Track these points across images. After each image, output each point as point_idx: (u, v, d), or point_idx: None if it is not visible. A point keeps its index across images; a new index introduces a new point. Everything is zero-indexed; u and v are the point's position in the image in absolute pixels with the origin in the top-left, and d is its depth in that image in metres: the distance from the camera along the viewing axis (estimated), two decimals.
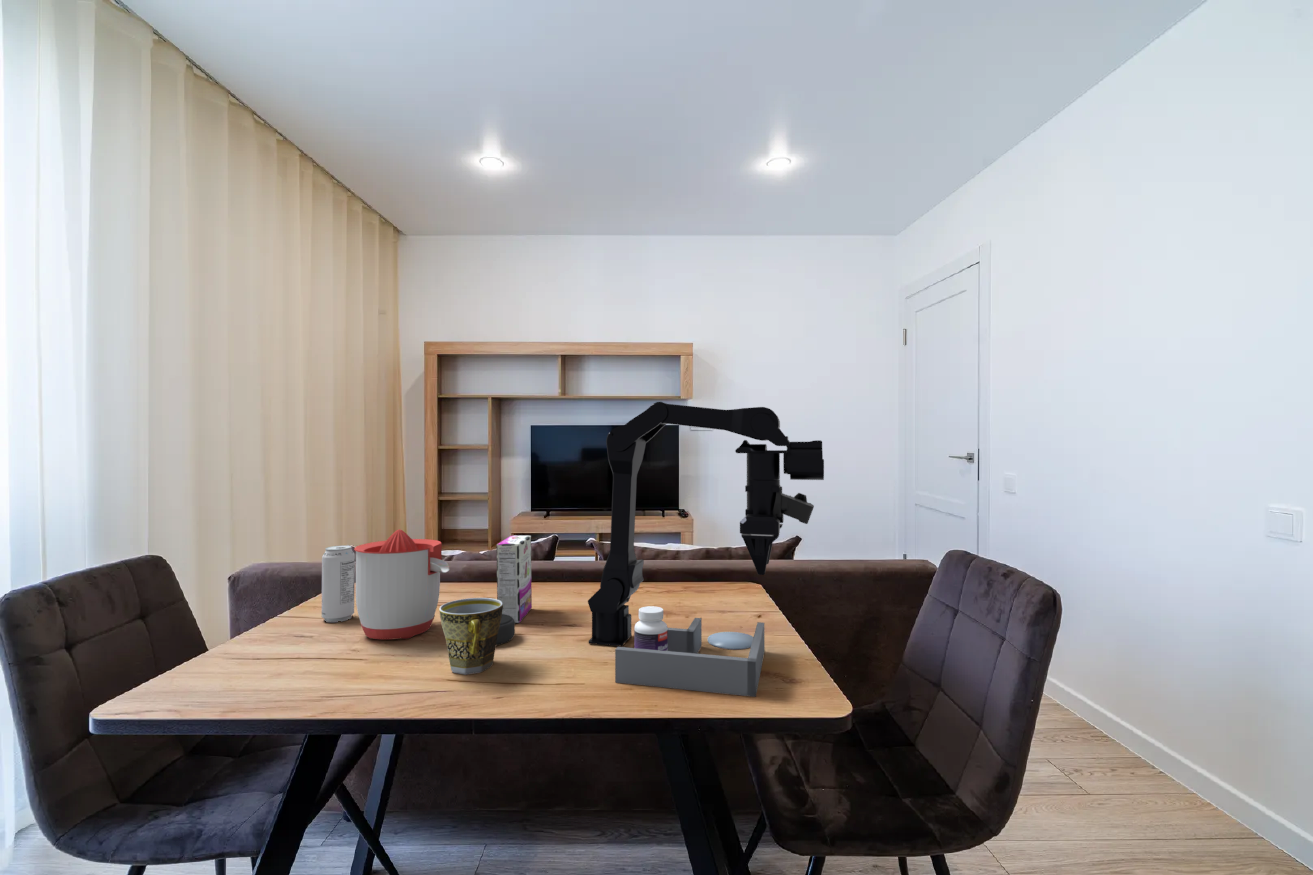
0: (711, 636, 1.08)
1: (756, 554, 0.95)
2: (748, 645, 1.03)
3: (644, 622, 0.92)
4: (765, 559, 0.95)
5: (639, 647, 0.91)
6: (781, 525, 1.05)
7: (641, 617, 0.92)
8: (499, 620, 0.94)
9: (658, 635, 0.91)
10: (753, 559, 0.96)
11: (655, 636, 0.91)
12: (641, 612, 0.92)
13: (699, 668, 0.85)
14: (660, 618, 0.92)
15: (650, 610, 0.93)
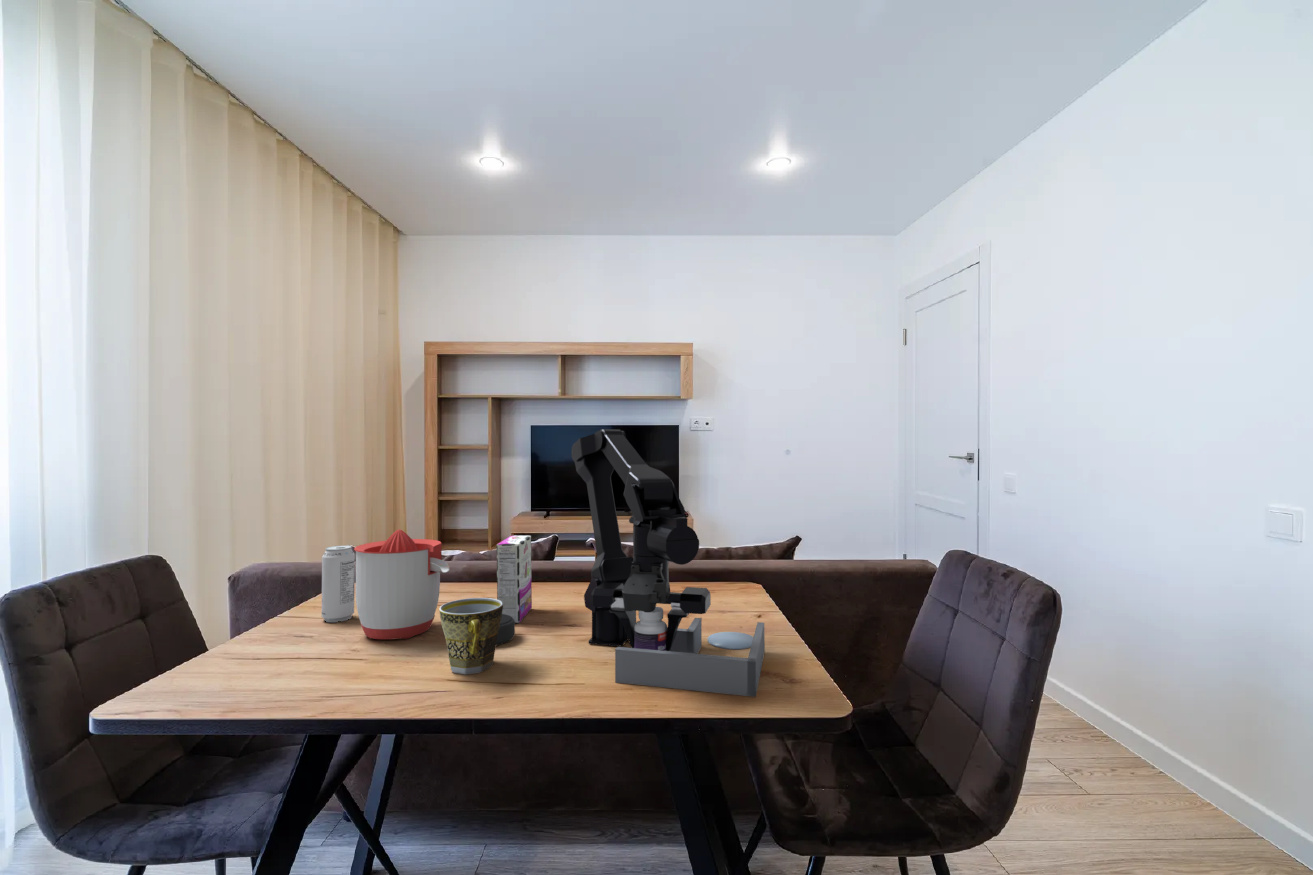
0: (711, 636, 1.08)
1: None
2: (748, 645, 1.03)
3: (644, 622, 0.92)
4: None
5: (639, 647, 0.91)
6: (670, 614, 0.89)
7: (641, 617, 0.92)
8: (499, 620, 0.94)
9: (658, 635, 0.91)
10: None
11: (655, 635, 0.91)
12: (641, 612, 0.92)
13: (699, 668, 0.85)
14: (660, 618, 0.92)
15: None
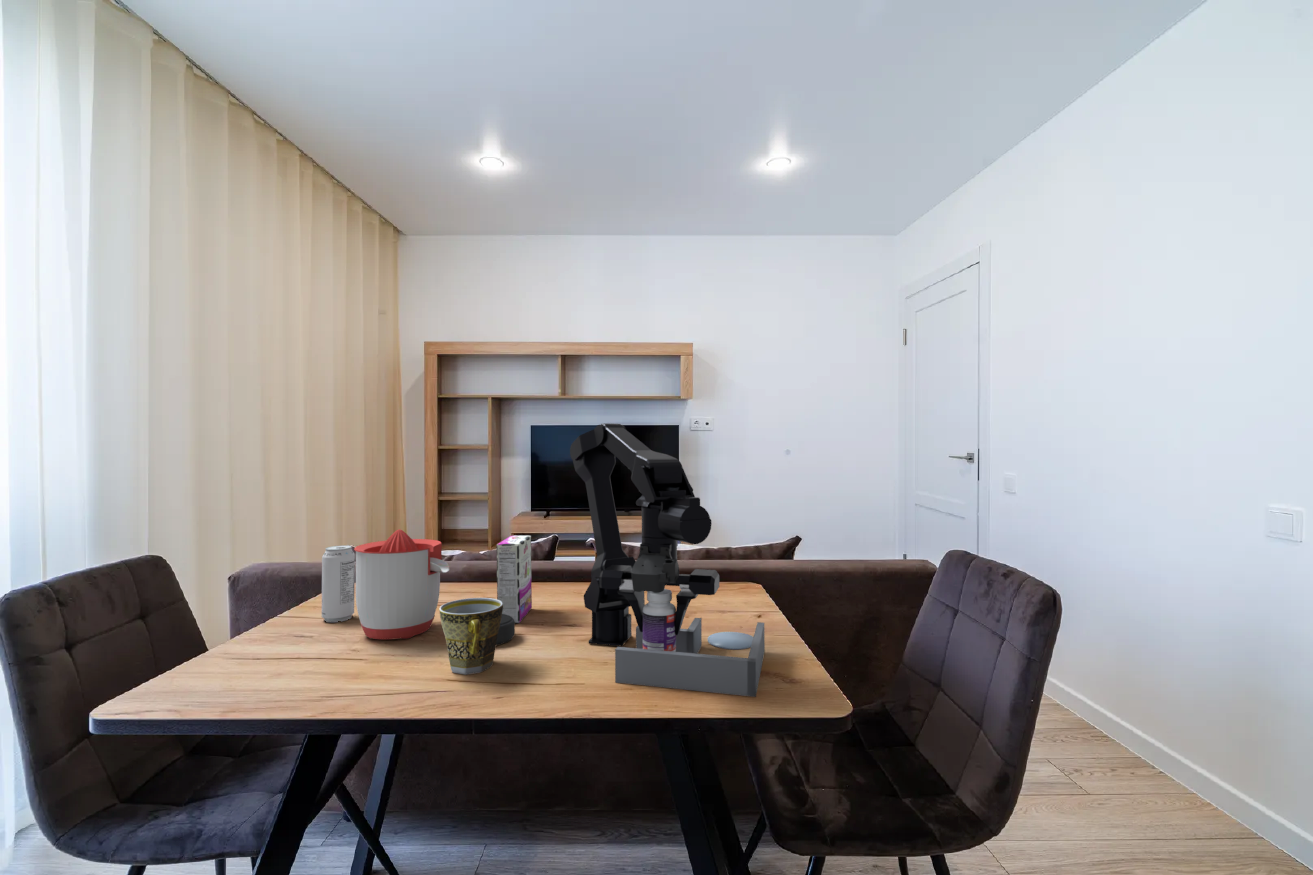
0: (711, 636, 1.08)
1: None
2: (748, 645, 1.03)
3: (653, 603, 0.91)
4: (635, 615, 0.93)
5: (648, 629, 0.91)
6: (679, 595, 0.89)
7: (650, 599, 0.92)
8: (499, 620, 0.94)
9: (667, 616, 0.90)
10: None
11: (664, 617, 0.90)
12: (650, 594, 0.92)
13: (699, 668, 0.85)
14: (669, 600, 0.92)
15: None
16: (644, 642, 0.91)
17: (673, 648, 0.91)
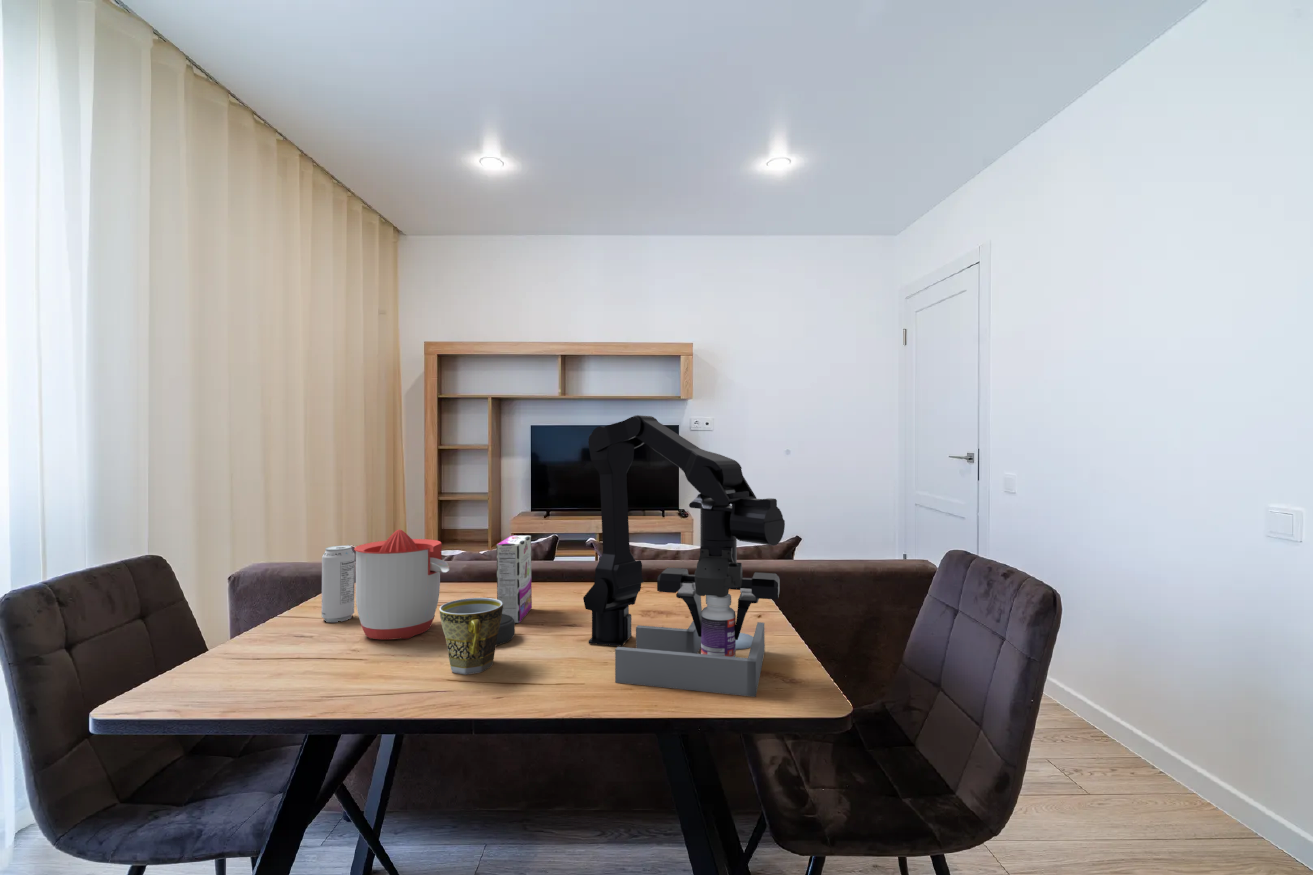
0: None
1: None
2: (748, 645, 1.03)
3: (713, 608, 0.89)
4: (693, 619, 0.91)
5: (708, 633, 0.89)
6: (741, 599, 0.87)
7: (709, 603, 0.90)
8: (499, 620, 0.94)
9: (728, 621, 0.88)
10: None
11: (724, 622, 0.88)
12: (709, 597, 0.90)
13: (699, 668, 0.85)
14: (729, 604, 0.90)
15: None
16: (703, 647, 0.89)
17: (733, 653, 0.89)
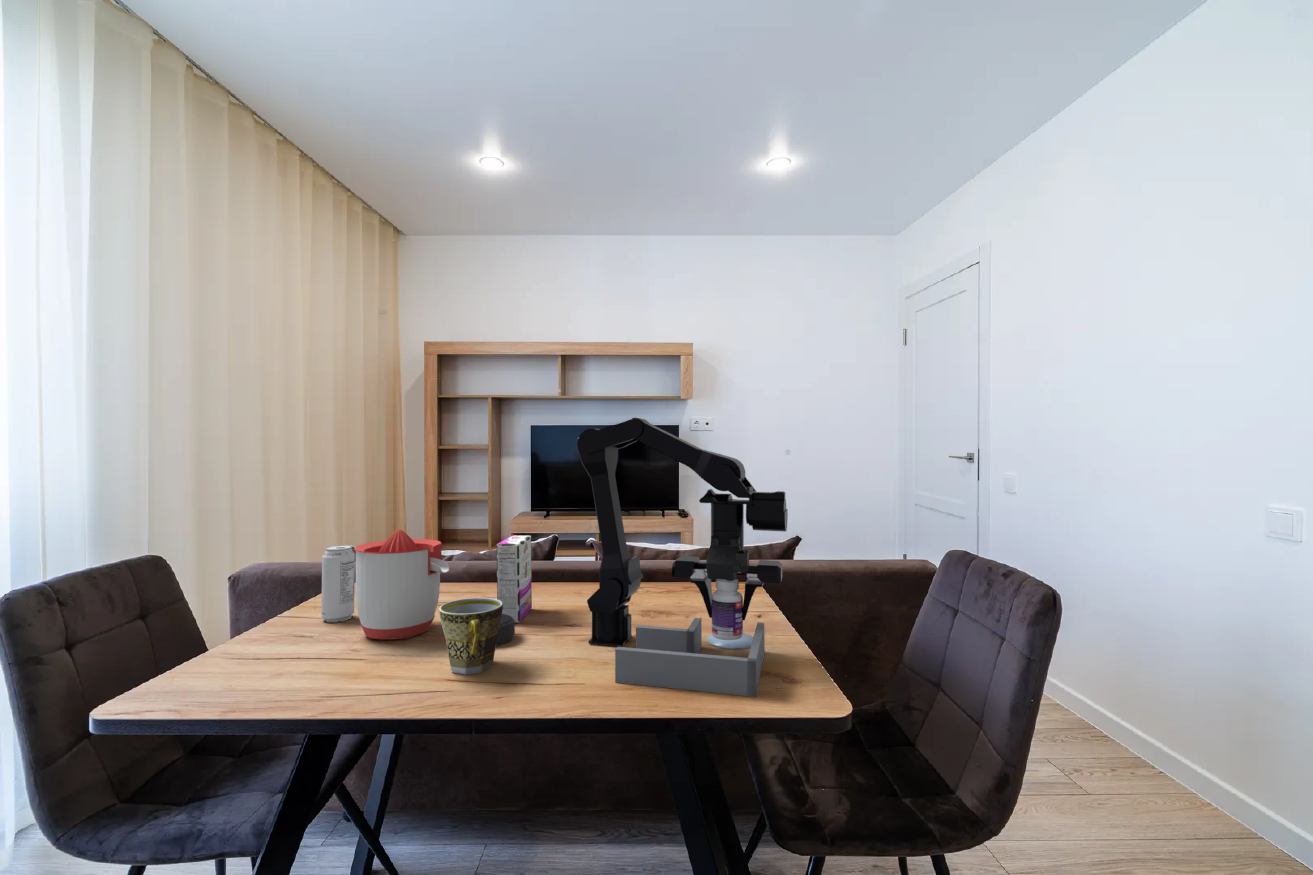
0: (711, 636, 1.08)
1: None
2: (748, 645, 1.03)
3: (722, 591, 0.99)
4: None
5: (718, 614, 0.99)
6: (748, 583, 0.97)
7: (719, 587, 1.00)
8: (499, 620, 0.94)
9: (736, 603, 0.99)
10: None
11: (733, 604, 0.98)
12: (719, 582, 1.00)
13: (699, 668, 0.85)
14: (736, 588, 1.00)
15: (727, 581, 1.00)
16: (714, 627, 1.00)
17: (741, 632, 0.99)
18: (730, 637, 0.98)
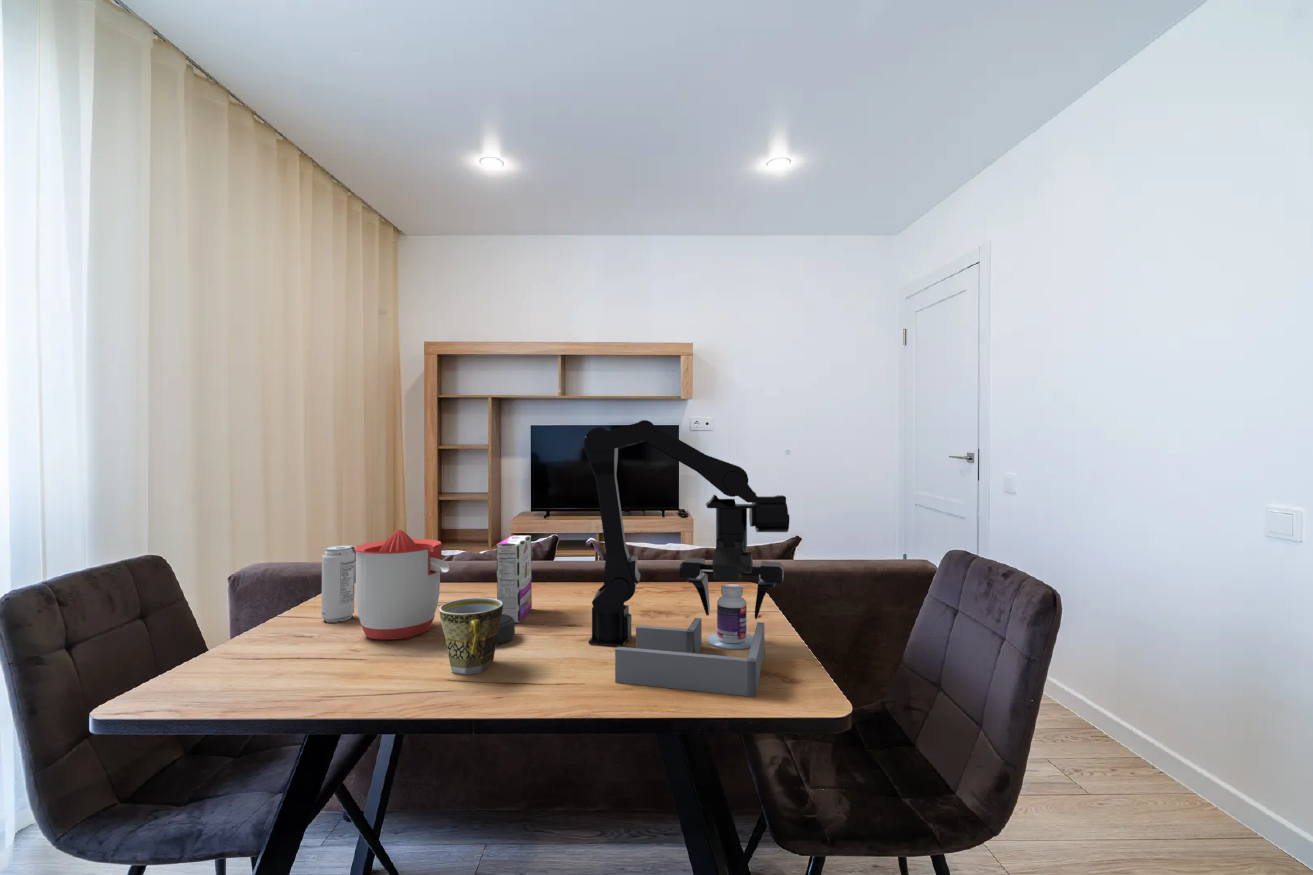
0: (711, 636, 1.08)
1: None
2: (748, 645, 1.03)
3: (727, 597, 1.05)
4: (701, 600, 1.08)
5: (723, 619, 1.05)
6: (761, 584, 1.03)
7: (724, 593, 1.06)
8: (499, 620, 0.94)
9: (740, 608, 1.04)
10: None
11: (737, 609, 1.04)
12: (724, 589, 1.06)
13: (699, 668, 0.85)
14: (741, 594, 1.06)
15: (732, 587, 1.06)
16: (719, 631, 1.05)
17: (744, 636, 1.05)
18: (735, 640, 1.04)
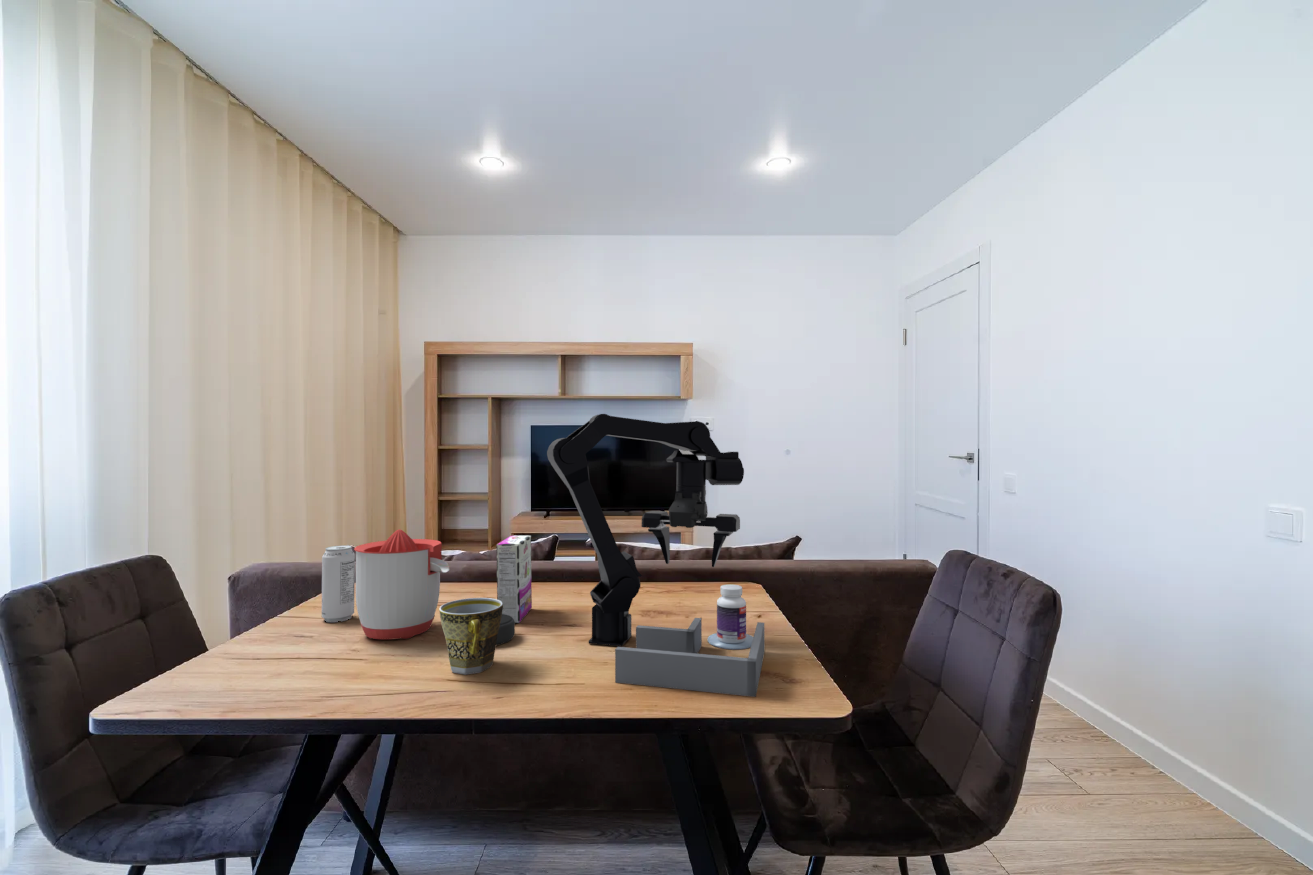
0: (711, 636, 1.08)
1: None
2: (748, 645, 1.03)
3: (727, 597, 1.05)
4: None
5: (723, 619, 1.05)
6: (716, 533, 1.09)
7: (724, 593, 1.06)
8: (499, 620, 0.94)
9: (740, 608, 1.04)
10: None
11: (737, 609, 1.04)
12: (724, 589, 1.06)
13: (699, 668, 0.85)
14: (740, 594, 1.06)
15: (731, 587, 1.06)
16: (719, 631, 1.05)
17: (744, 636, 1.05)
18: (734, 640, 1.04)
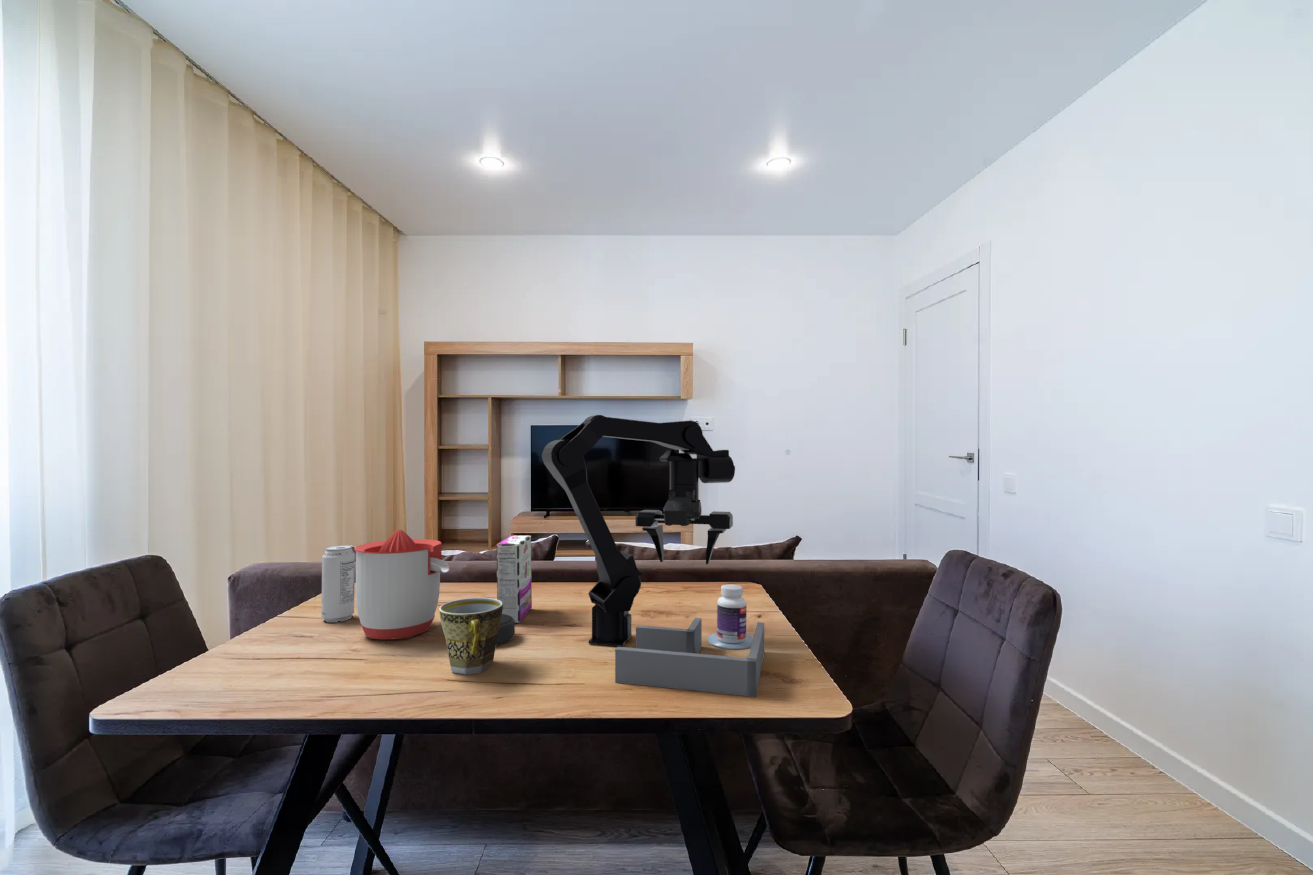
0: (711, 636, 1.08)
1: None
2: (748, 645, 1.03)
3: (727, 597, 1.05)
4: (656, 548, 1.15)
5: (723, 619, 1.05)
6: (710, 530, 1.10)
7: (724, 593, 1.06)
8: (499, 620, 0.94)
9: (740, 608, 1.04)
10: None
11: (737, 609, 1.04)
12: (724, 589, 1.06)
13: (699, 668, 0.85)
14: (741, 594, 1.06)
15: (732, 587, 1.06)
16: (719, 631, 1.05)
17: (744, 636, 1.05)
18: (734, 640, 1.04)
